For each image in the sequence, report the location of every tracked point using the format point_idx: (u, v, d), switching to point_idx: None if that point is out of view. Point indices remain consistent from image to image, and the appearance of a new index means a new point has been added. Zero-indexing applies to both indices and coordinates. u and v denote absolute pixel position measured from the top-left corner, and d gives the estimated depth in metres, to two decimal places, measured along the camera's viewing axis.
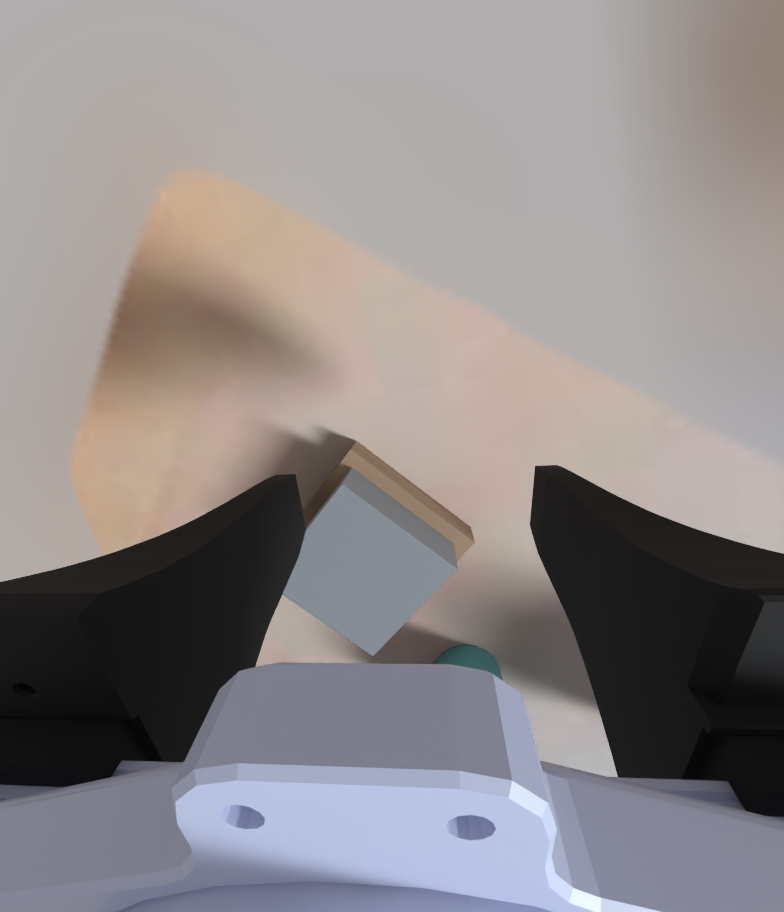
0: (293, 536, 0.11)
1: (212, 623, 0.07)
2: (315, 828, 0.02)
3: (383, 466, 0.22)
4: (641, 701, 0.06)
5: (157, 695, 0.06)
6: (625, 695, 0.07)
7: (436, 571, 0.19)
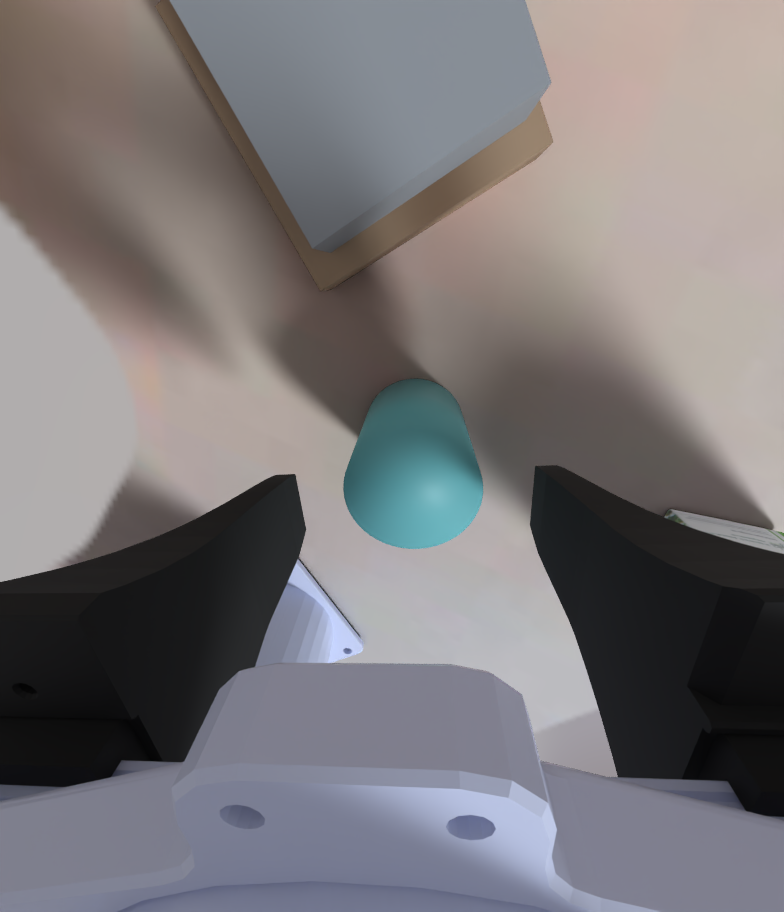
0: (293, 536, 0.11)
1: (212, 623, 0.07)
2: (315, 828, 0.02)
3: None
4: (641, 701, 0.06)
5: (157, 695, 0.06)
6: (625, 695, 0.07)
7: (509, 72, 0.09)
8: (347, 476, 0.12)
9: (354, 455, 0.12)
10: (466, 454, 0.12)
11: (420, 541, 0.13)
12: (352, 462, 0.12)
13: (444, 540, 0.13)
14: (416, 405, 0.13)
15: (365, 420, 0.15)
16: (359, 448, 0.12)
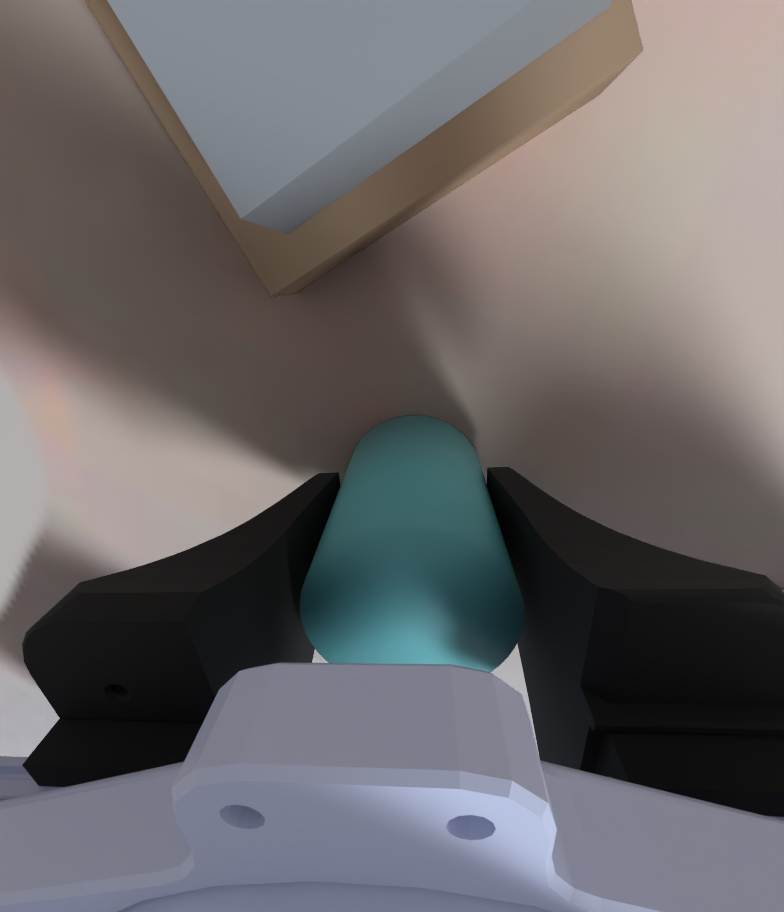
0: None
1: (280, 623, 0.07)
2: (315, 828, 0.02)
3: None
4: (554, 699, 0.06)
5: None
6: (545, 694, 0.07)
7: None
8: (305, 595, 0.08)
9: (315, 566, 0.07)
10: (500, 569, 0.07)
11: None
12: (312, 576, 0.07)
13: None
14: (416, 472, 0.09)
15: (343, 480, 0.11)
16: (322, 555, 0.07)
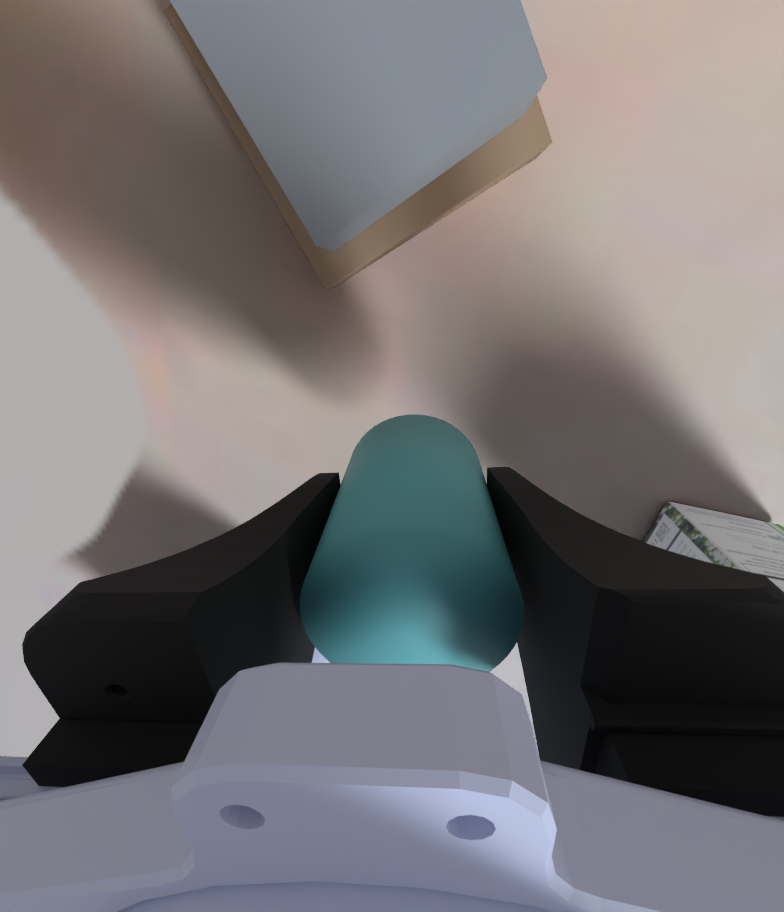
0: None
1: (280, 623, 0.07)
2: (314, 828, 0.02)
3: None
4: (554, 699, 0.06)
5: None
6: (545, 694, 0.07)
7: (505, 69, 0.10)
8: (305, 594, 0.08)
9: (315, 564, 0.07)
10: (499, 567, 0.07)
11: None
12: (312, 574, 0.07)
13: None
14: (416, 471, 0.09)
15: (343, 479, 0.11)
16: (323, 554, 0.07)
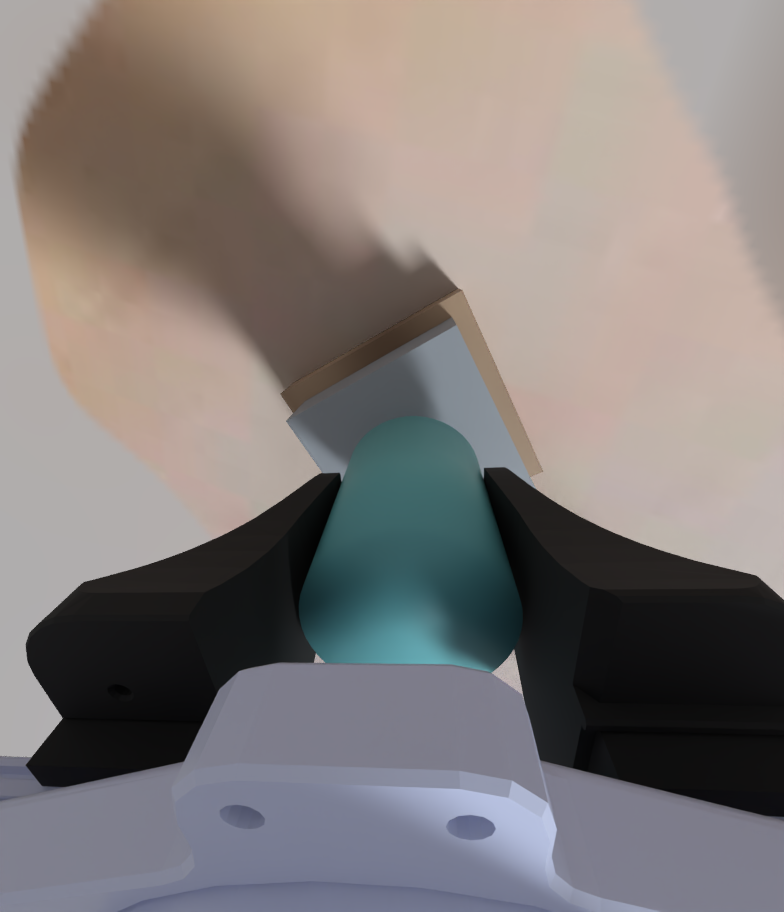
0: None
1: (282, 623, 0.07)
2: (315, 828, 0.02)
3: None
4: (548, 699, 0.06)
5: None
6: (539, 694, 0.07)
7: None
8: (304, 599, 0.08)
9: (313, 569, 0.07)
10: (497, 571, 0.07)
11: None
12: (310, 580, 0.07)
13: None
14: (415, 475, 0.09)
15: (342, 482, 0.11)
16: (321, 559, 0.07)
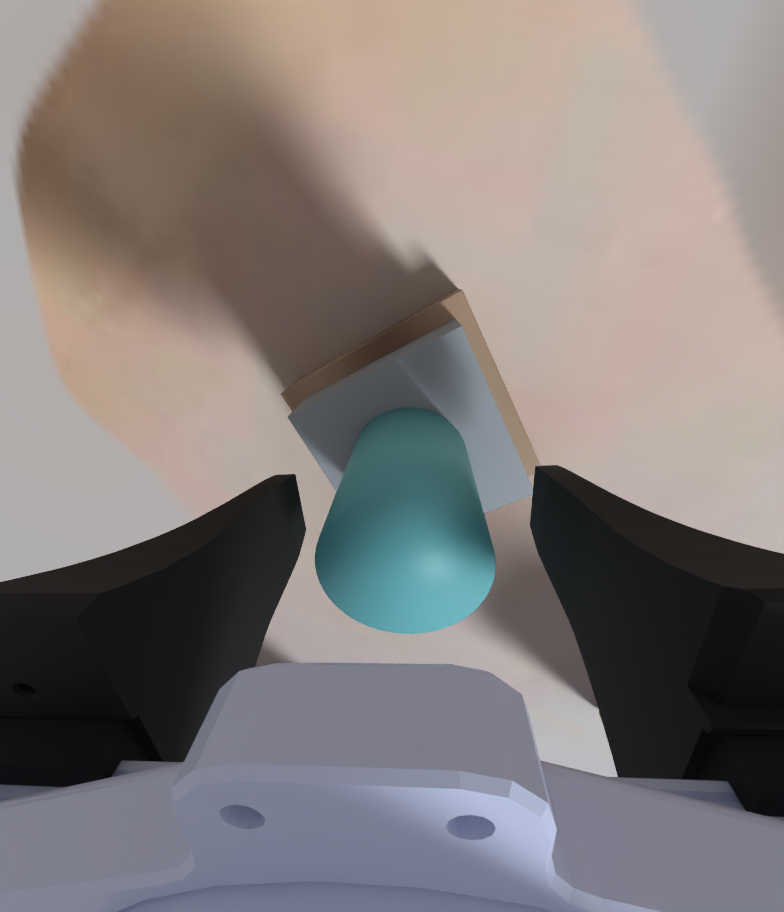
0: (293, 536, 0.11)
1: (212, 623, 0.07)
2: (315, 827, 0.02)
3: None
4: (641, 701, 0.06)
5: (157, 695, 0.06)
6: (625, 695, 0.07)
7: (509, 487, 0.15)
8: (319, 548, 0.09)
9: (328, 523, 0.09)
10: (475, 524, 0.09)
11: (414, 625, 0.10)
12: (325, 532, 0.09)
13: (445, 624, 0.10)
14: (410, 451, 0.11)
15: (348, 462, 0.13)
16: (334, 515, 0.09)
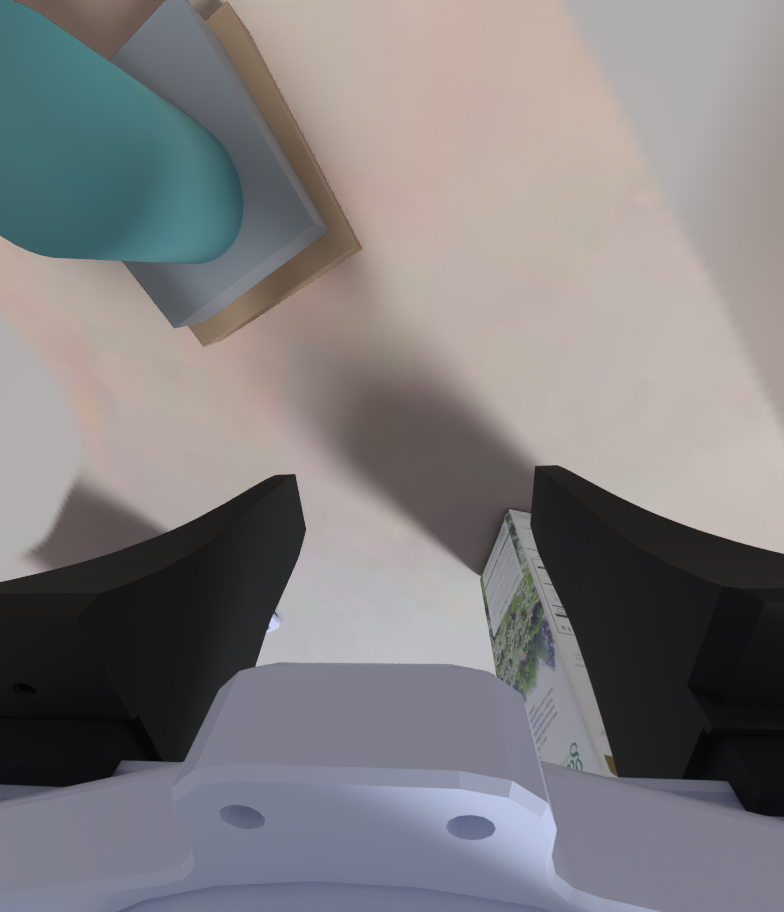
0: (293, 536, 0.11)
1: (212, 623, 0.07)
2: (315, 828, 0.02)
3: (272, 81, 0.15)
4: (641, 700, 0.06)
5: (157, 695, 0.06)
6: (625, 695, 0.07)
7: (286, 217, 0.14)
8: None
9: None
10: (73, 48, 0.08)
11: (74, 242, 0.09)
12: None
13: (110, 240, 0.09)
14: None
15: None
16: None
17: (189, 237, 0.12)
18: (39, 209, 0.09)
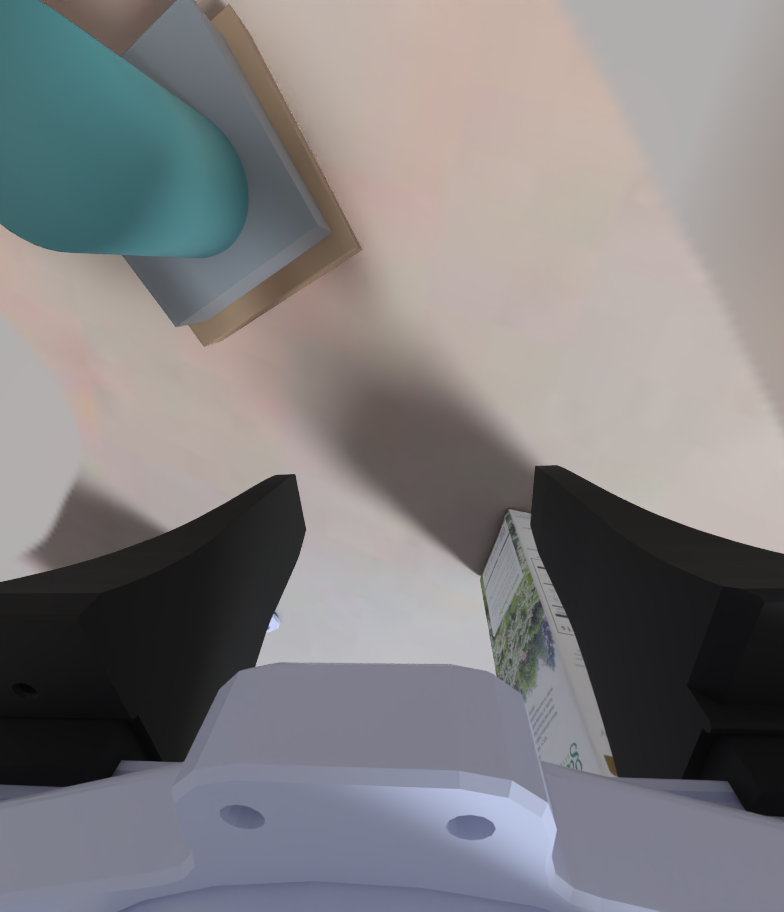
0: (293, 536, 0.11)
1: (212, 623, 0.07)
2: (315, 828, 0.02)
3: (274, 84, 0.15)
4: (641, 700, 0.06)
5: (157, 695, 0.06)
6: (625, 695, 0.07)
7: (289, 218, 0.14)
8: None
9: None
10: (83, 43, 0.08)
11: (80, 236, 0.09)
12: None
13: (116, 236, 0.09)
14: None
15: None
16: None
17: (194, 232, 0.12)
18: (45, 203, 0.09)
